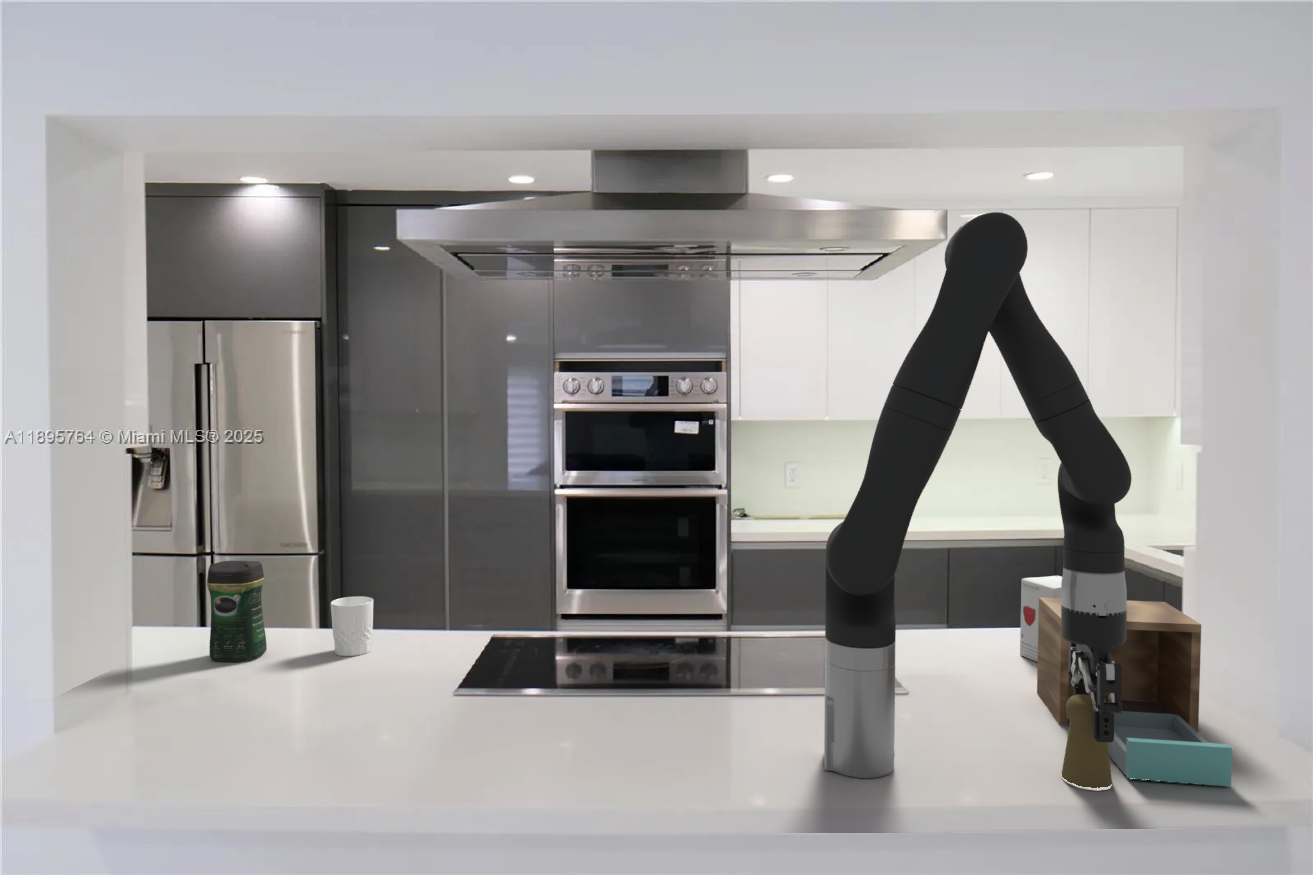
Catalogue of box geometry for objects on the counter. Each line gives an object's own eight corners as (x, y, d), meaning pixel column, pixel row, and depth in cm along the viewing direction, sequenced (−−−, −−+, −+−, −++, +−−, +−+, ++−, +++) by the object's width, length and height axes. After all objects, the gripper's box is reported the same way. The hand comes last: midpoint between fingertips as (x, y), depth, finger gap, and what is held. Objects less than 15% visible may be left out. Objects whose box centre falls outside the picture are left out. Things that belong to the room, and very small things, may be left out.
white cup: (361, 658, 167) (359, 606, 167) (323, 656, 169) (322, 604, 168) (382, 646, 175) (381, 597, 175) (345, 644, 177) (344, 595, 176)
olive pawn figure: (1097, 770, 117) (1098, 689, 117) (1122, 790, 111) (1124, 705, 110) (1052, 771, 117) (1053, 689, 116) (1075, 791, 111) (1077, 706, 110)
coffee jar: (273, 651, 172) (270, 557, 171) (251, 663, 164) (248, 565, 163) (226, 650, 173) (223, 556, 172) (202, 662, 165) (199, 564, 164)
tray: (1128, 779, 114) (1129, 741, 113) (1088, 729, 131) (1089, 695, 130) (1230, 786, 111) (1232, 748, 111) (1176, 734, 128) (1177, 700, 128)
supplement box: (1017, 655, 168) (1019, 577, 167) (1056, 650, 171) (1057, 574, 170) (1052, 669, 160) (1054, 587, 159) (1092, 664, 162) (1094, 584, 161)
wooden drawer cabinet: (1059, 724, 133) (1061, 618, 132) (1036, 693, 147) (1038, 597, 146) (1198, 733, 130) (1201, 624, 129) (1162, 700, 143) (1164, 601, 143)
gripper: (1048, 590, 120) (1048, 707, 121) (1077, 617, 106) (1077, 748, 107) (1107, 591, 119) (1107, 709, 120) (1145, 618, 105) (1144, 752, 106)
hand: (1093, 728), depth 113 cm, fingers open, 8 cm apart
